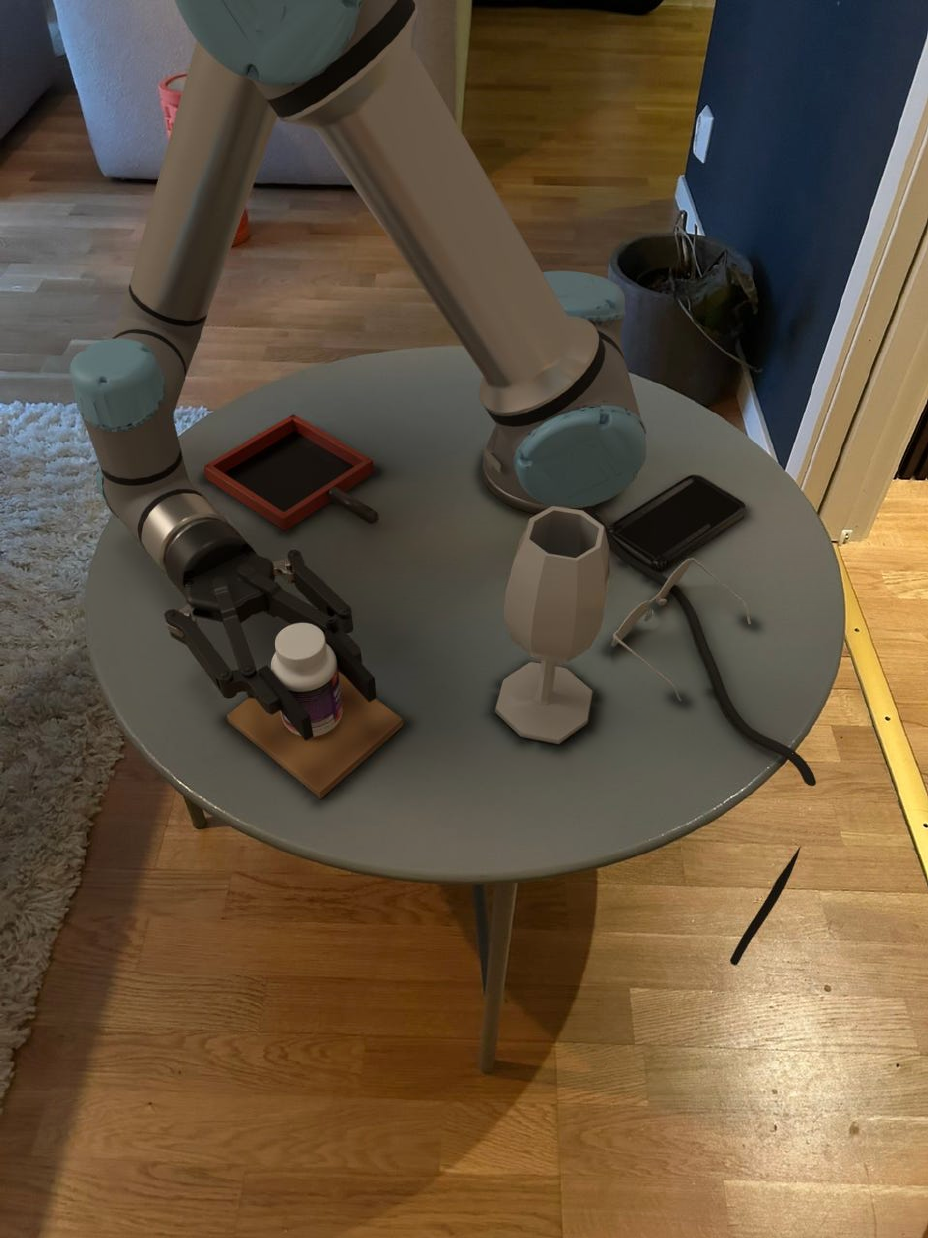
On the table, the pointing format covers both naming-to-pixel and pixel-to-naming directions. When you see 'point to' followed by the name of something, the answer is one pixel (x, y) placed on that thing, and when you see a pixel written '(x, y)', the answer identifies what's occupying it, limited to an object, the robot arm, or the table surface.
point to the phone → (676, 522)
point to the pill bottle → (309, 675)
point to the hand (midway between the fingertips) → (340, 708)
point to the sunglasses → (642, 608)
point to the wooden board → (320, 738)
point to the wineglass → (554, 621)
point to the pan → (293, 473)
